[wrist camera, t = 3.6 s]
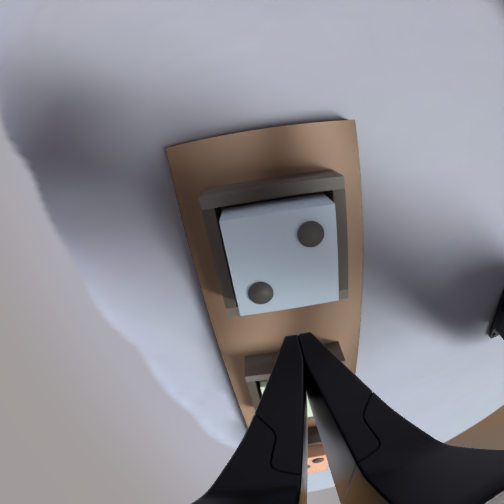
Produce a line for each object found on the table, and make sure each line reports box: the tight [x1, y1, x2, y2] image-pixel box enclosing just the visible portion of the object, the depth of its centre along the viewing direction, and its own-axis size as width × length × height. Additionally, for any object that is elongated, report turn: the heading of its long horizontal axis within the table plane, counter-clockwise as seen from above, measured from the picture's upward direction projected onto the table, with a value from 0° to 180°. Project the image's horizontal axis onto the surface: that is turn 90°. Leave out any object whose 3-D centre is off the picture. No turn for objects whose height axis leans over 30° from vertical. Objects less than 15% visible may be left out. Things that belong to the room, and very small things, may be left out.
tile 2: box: [219, 193, 339, 316], centre depth 14 cm, size 5×5×2 cm
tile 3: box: [307, 444, 328, 473], centre depth 24 cm, size 5×5×2 cm
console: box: [166, 120, 363, 446], centre depth 21 cm, size 10×36×3 cm, turn 9°
